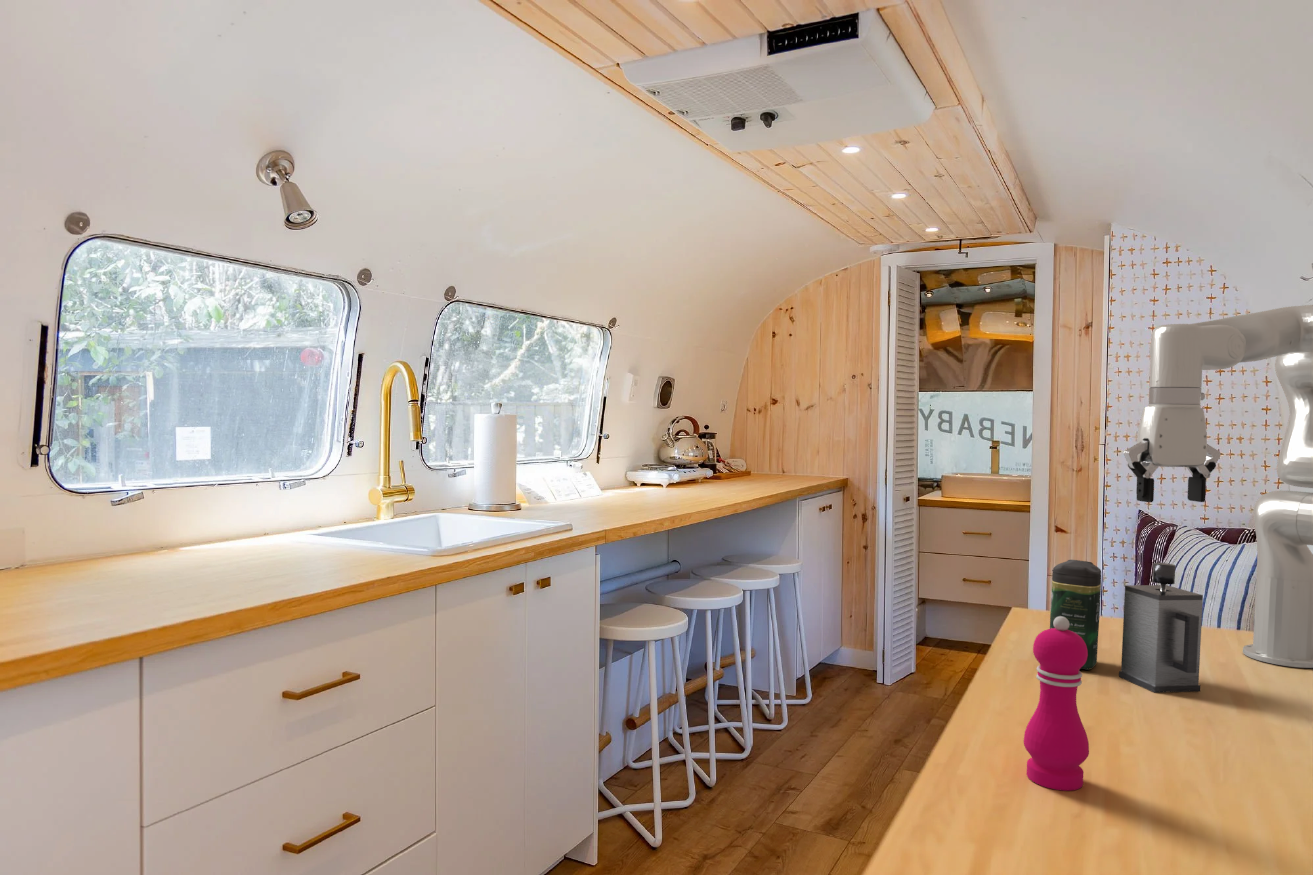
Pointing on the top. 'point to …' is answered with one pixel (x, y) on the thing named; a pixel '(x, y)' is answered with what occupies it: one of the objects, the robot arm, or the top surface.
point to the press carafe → (1161, 638)
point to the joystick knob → (1163, 574)
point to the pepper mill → (1057, 711)
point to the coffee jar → (1078, 602)
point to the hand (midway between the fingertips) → (1170, 501)
